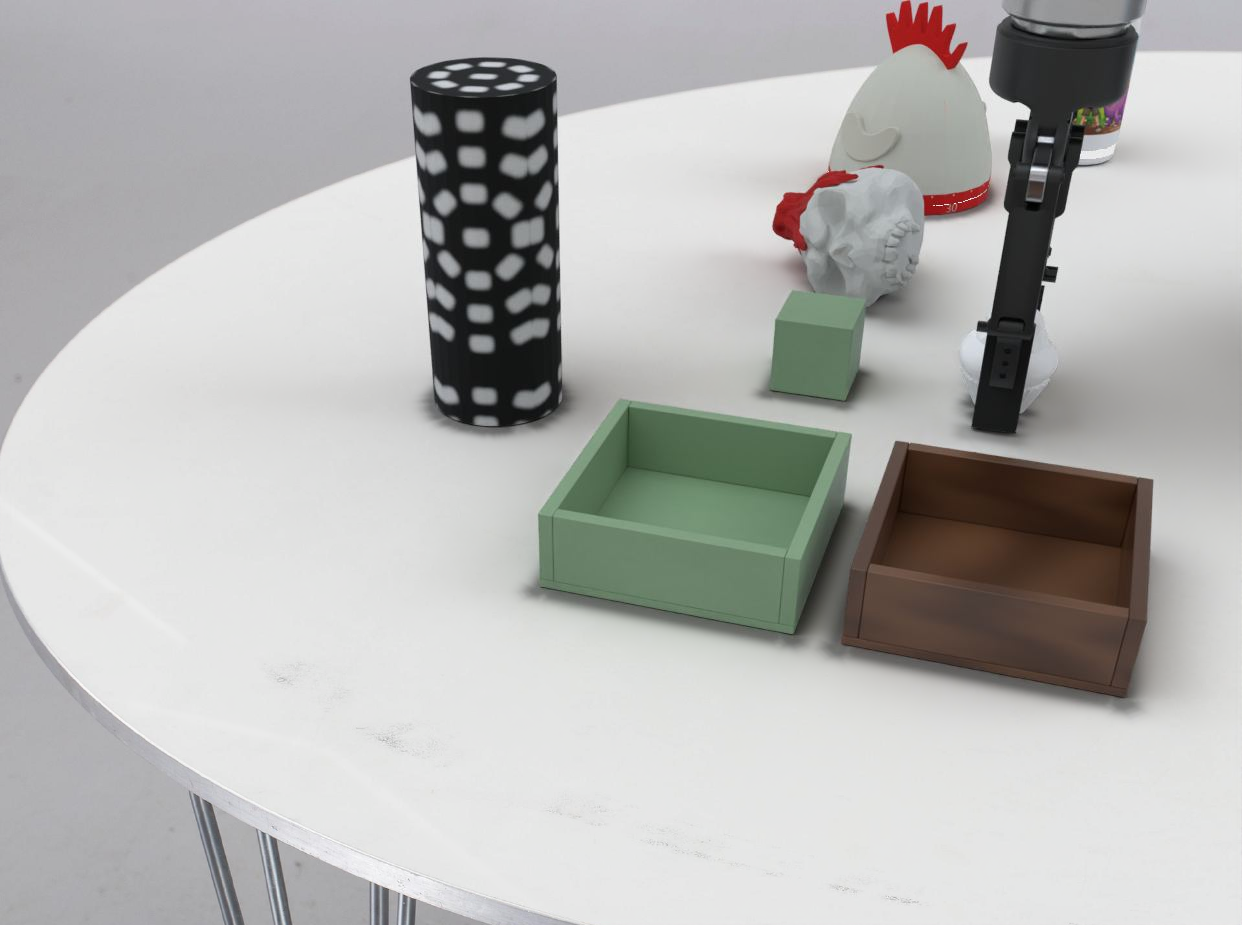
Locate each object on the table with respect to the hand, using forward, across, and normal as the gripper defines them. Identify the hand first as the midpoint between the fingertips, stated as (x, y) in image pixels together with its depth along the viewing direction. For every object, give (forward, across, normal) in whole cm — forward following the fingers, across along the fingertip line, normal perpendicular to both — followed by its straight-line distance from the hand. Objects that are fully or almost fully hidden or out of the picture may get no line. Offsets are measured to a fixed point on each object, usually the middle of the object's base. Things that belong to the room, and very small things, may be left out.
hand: (1000, 402), depth 92 cm
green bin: (0, +22, -14) cm, 26 cm away
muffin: (0, 0, 0) cm, 0 cm away
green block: (0, 0, -12) cm, 12 cm away
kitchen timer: (0, -40, -12) cm, 42 cm away
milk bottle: (+1, -54, +1) cm, 54 cm away
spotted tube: (0, +9, -31) cm, 32 cm away
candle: (0, -17, -13) cm, 21 cm away
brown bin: (0, +22, +2) cm, 22 cm away
